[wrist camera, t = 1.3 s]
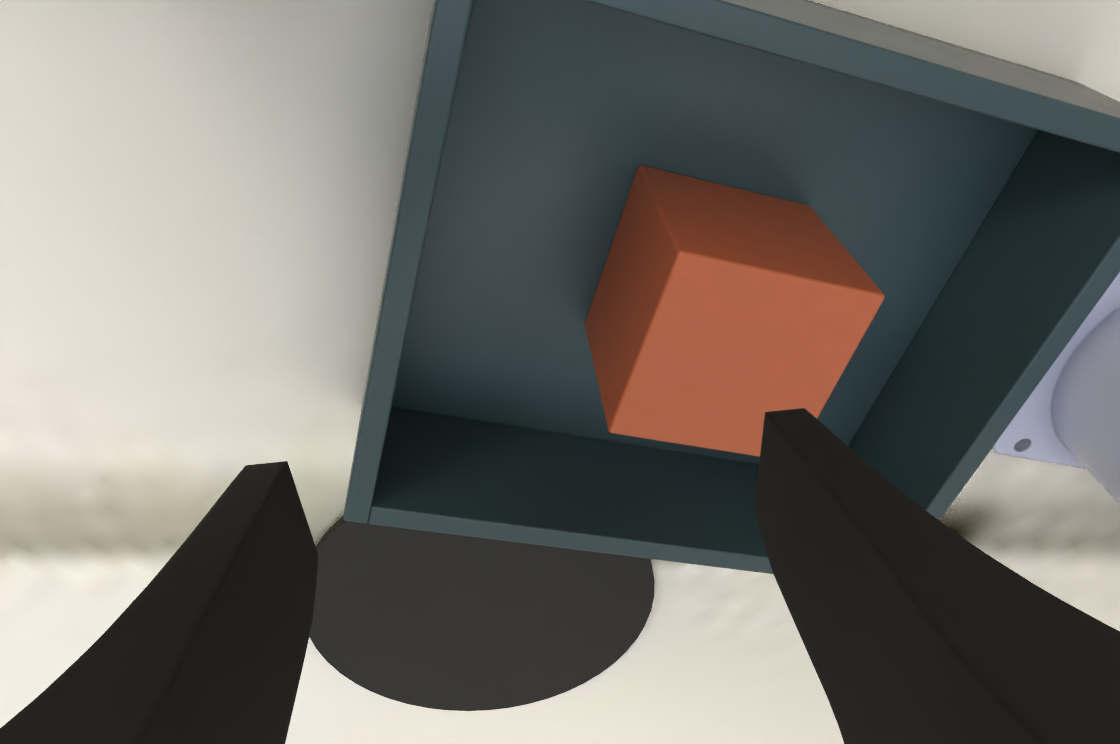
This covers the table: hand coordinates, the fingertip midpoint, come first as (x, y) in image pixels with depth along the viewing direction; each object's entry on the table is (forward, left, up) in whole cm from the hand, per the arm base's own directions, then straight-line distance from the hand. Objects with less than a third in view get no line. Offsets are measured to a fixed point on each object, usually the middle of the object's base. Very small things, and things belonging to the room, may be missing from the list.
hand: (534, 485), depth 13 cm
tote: (-5, 0, -10) cm, 11 cm away
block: (-5, 0, -9) cm, 10 cm away
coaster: (-2, +14, -10) cm, 17 cm away
